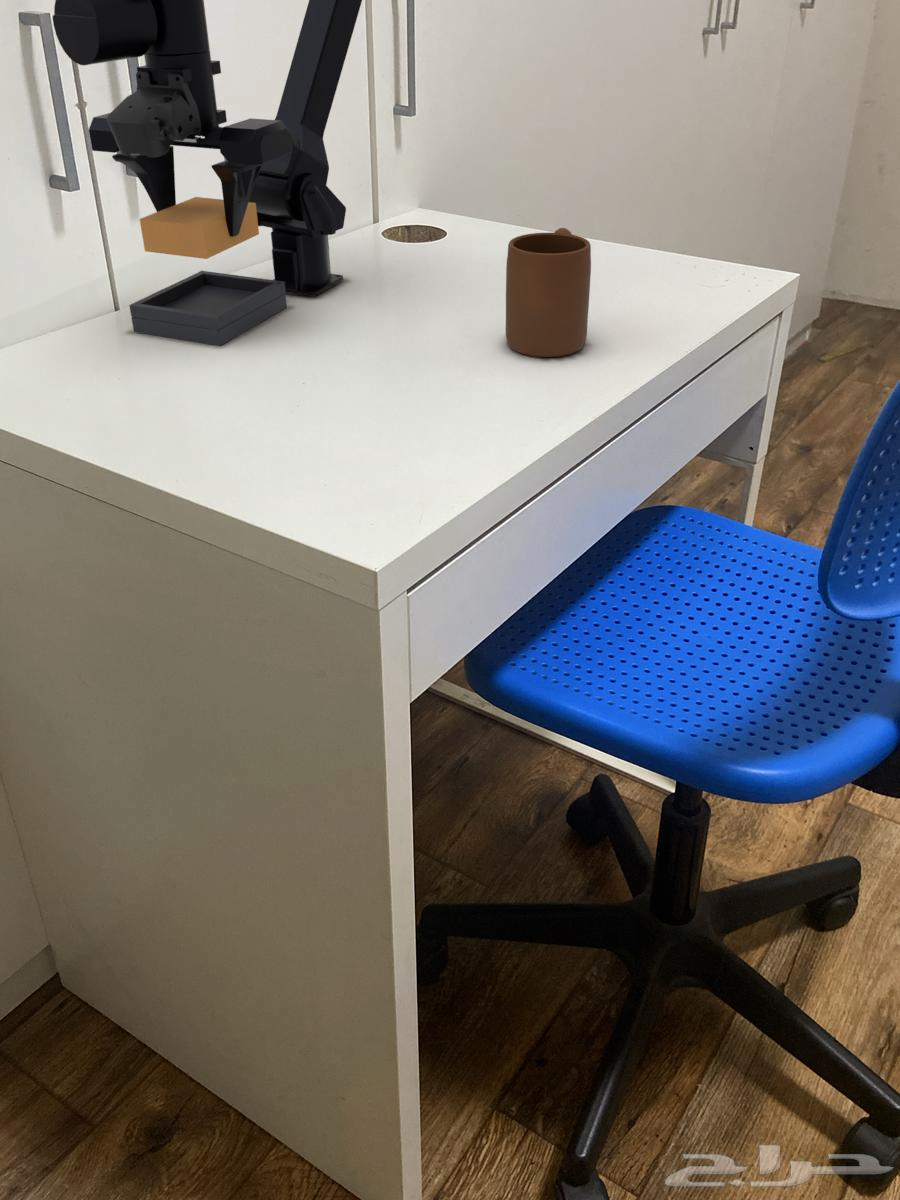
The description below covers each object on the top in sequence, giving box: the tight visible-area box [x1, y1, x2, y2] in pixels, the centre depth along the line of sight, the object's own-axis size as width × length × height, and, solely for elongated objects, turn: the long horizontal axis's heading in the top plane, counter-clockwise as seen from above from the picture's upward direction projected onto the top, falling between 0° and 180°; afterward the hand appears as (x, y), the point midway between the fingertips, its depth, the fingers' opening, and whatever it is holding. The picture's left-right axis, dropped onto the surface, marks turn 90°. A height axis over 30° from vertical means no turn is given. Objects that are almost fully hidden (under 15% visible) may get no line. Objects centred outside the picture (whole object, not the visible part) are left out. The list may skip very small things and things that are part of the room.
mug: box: [505, 227, 592, 358], centre depth 102 cm, size 12×8×9 cm, turn 164°
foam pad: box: [139, 196, 260, 260], centre depth 105 cm, size 9×7×3 cm
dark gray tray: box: [129, 270, 288, 347], centre depth 109 cm, size 12×10×3 cm
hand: (201, 232), depth 105 cm, fingers closed on foam pad, 7 cm apart
